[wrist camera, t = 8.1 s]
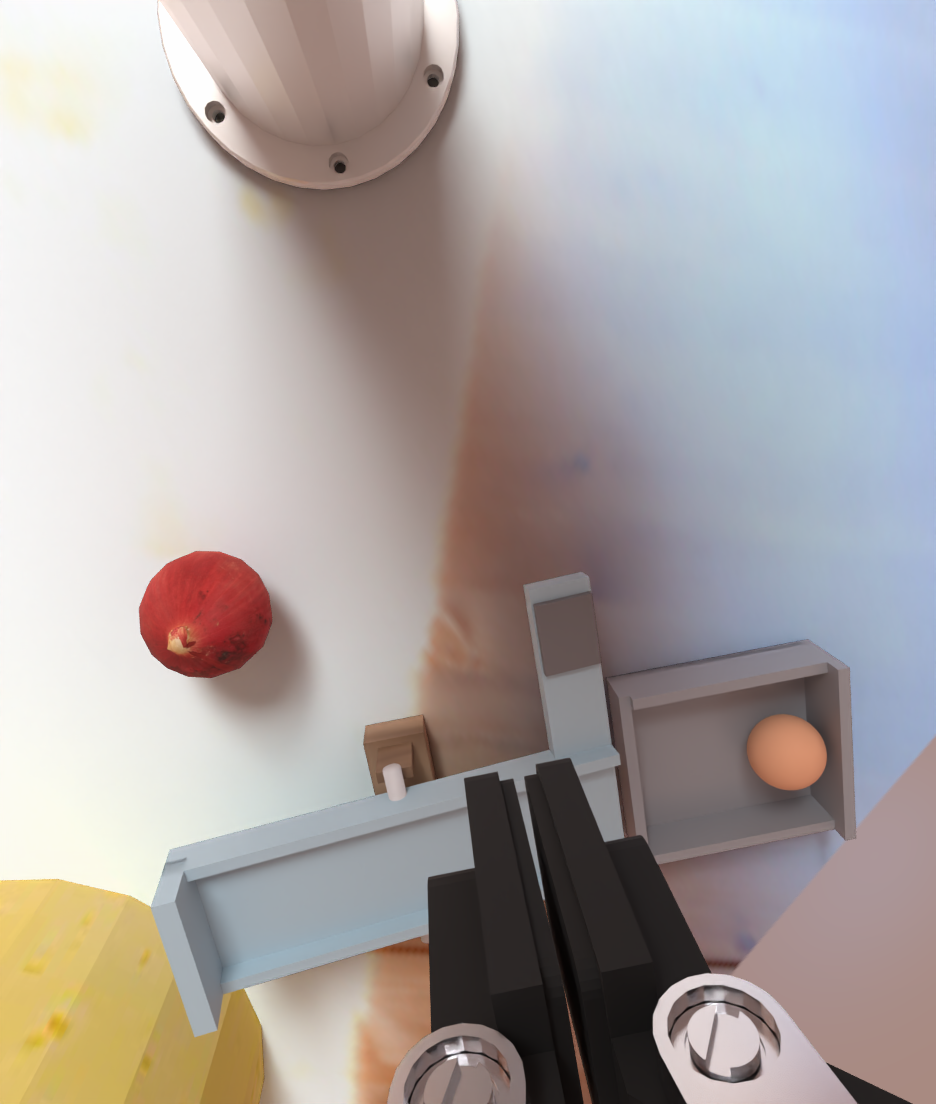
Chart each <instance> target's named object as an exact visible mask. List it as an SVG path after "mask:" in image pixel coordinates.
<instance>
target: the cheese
mask: <svg viewBox="0 0 936 1104" xmlns="http://www.w3.org/2000/svg"><path fill="white" fill-rule="evenodd" d="M263 1082H264V1065H263V1046H262V1028H261V1024H260V1022H259V1020H258V1018H257V1015H256V1013H255V1011H254V1009H253V1007H252V1005H251V1003H250V1001H249V998H248V996H247V994H246V992H245V990H244V988H243V989H240V990H237V991H233V992H230V993H226V994H223V999H222V1005H221V1011H220V1017H219V1023H218V1029H217V1031H214V1032H210V1033H207V1034H204V1035H200V1036H197V1037H194V1034H193V1031H192V1028H191V1025H190V1022H189V1019H188V1016H187V1013H186V1010H185V1008H184V1005H183V1002H182V999H181V996H180V993H179V990H178V987H177V984H176V981H175V978H174V975H173V972H172V969H171V966H170V964H169V961H168V958H167V955H166V952H165V949H164V946H163V943H162V940H161V937H160V934H159V931H158V928H157V925H156V922H155V920H154V917H153V914H152V911H151V907H150V906H148V905H146V904H144V903H142V902H141V901H139V900H137V899H135V898H133V897H131V896H128V895H124V894H119V893H115V892H111V891H107V890H102V889H98V888H94V887H89V886H85V885H81V884H77V883H72V882H68V881H64V880H59V879H42V880H5V881H0V1104H259V1101H260V1096H261V1091H262V1087H263Z"/></svg>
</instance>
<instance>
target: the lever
mask: <svg viewBox="0 0 936 1104" xmlns="http://www.w3.org/2000/svg"><path fill="white" fill-rule="evenodd" d="M523 587H524V593H525V600H526V606H527V612H528V618H529V625H530V631H531V637H532V644H533V650H534V656H535V662H536V669H537V675H538V681H539V687H540V694H541V700H542V706H543V712H544V719H545V725H546V731H547V738H548V744H549V750H547V751H543V752H539V753H535V754H531V755H528V756H524V757H520V758H516V759H512V760H509V761H505V762H501V763H497V764H493V765H490V766H486V767H482V768H478V769H474V770H471V771H467V772H463V773H459V774H455V775H452V776H448V777H444V778H440V779H436V780H433V781H429V782H425V783H421V784H417V785H414V786H410V787H406V788H405V783H404V779H403V774H402V770H401V766H400V765H399V764H396V763H394V764H389V765H387V766H385V767H384V768H383V775H384V780H385V784H386V788H387V793H383V794H379V795H376V796H372V797H368V798H364V799H360V800H357V801H353V802H349V803H345V804H341V805H338V806H334V807H330V808H326V809H322V810H319V811H315V812H311V813H307V814H303V815H300V816H296V817H292V818H288V819H284V820H281V821H277V822H273V823H269V824H265V825H262V826H258V827H254V828H250V829H246V830H243V831H239V832H235V833H231V834H227V835H224V836H220V837H216V838H212V839H208V840H205V841H201V842H197V843H193V844H190V845H186V846H182V847H178V848H174V849H171V850H170V851H169V854H168V857H167V860H166V863H165V866H164V869H163V872H162V875H161V878H160V881H159V884H158V887H157V890H156V893H155V896H154V899H153V902H152V905H151V911H152V914H153V917H154V920H155V922H156V925H157V928H158V931H159V934H160V937H161V940H162V943H163V946H164V949H165V952H166V955H167V958H168V961H169V964H170V966H171V969H172V972H173V975H174V978H175V981H176V984H177V987H178V990H179V993H180V996H181V999H182V1002H183V1005H184V1008H185V1010H186V1013H187V1016H188V1019H189V1022H190V1025H191V1028H192V1031H193V1034H194V1037H197V1036H200V1035H204V1034H207V1033H210V1032H214V1031H217V1029H218V1023H219V1017H220V1011H221V1005H222V999H223V994H226V993H230V992H233V991H237V990H240V989H243V988H247V987H250V986H254V985H257V984H260V983H264V982H267V981H271V980H274V979H277V978H281V977H284V976H288V975H291V974H294V973H298V972H301V971H304V970H308V969H311V968H315V967H318V966H321V965H325V964H328V963H332V962H335V961H338V960H342V959H345V958H349V957H352V956H355V955H359V954H362V953H366V952H369V951H372V950H376V949H379V948H383V947H386V946H389V945H393V944H396V943H400V942H403V941H406V940H410V939H413V938H417V937H421V941H422V942H423V943H427V944H428V943H429V927H428V891H427V884H428V877H431V876H436V875H441V874H446V873H451V872H456V871H461V870H466V869H471V868H475V866H474V858H473V850H472V842H471V833H470V825H469V817H468V809H467V801H466V793H465V785H464V778H467V777H472V776H477V775H482V774H487V773H492V772H498V775H499V779H500V781H502V780H507V779H512V778H513V779H514V783H515V787H516V791H517V795H518V800H519V804H520V808H521V812H522V816H523V820H524V824H525V828H526V832H527V836H528V841H529V845H530V849H531V853H532V857H533V861H534V865H535V869H536V873H537V877H538V881H539V886H540V890H541V894H542V898H543V900H545V897H544V891H543V886H542V880H541V874H540V868H539V862H538V857H537V851H536V845H535V839H534V833H533V827H532V822H531V816H530V810H529V804H528V798H527V792H526V787H525V780H524V776H528V775H533V774H536V764H539V763H544V762H549V761H554V760H559V759H564V758H570V759H571V761H572V763H573V765H574V768H575V770H576V773H577V775H578V778H579V780H580V783H581V785H582V788H583V790H584V793H585V795H586V798H587V800H588V803H589V805H590V807H591V810H592V812H593V815H594V817H595V820H596V822H597V825H598V827H599V830H600V832H601V835H602V837H603V840H604V842H607V841H612V840H617V839H622V838H624V833H623V825H622V818H621V810H620V803H619V795H618V788H617V781H616V773H615V766H618V765H621V763H620V755H619V753H618V752H617V751H616V749H615V748H614V747H613V746H612V743H611V736H610V728H609V721H608V714H607V706H606V699H605V691H604V684H603V676H602V669H601V657H600V650H599V642H598V635H597V627H596V620H595V612H594V605H593V597H592V593H591V587H590V580H589V576H587V575H586V574H584V573H583V572H578V573H574V574H569V575H565V576H561V577H556V578H552V579H547V580H543V581H539V582H534V583H530V584H525V585H523Z"/></svg>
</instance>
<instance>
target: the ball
mask: <svg viewBox="0 0 936 1104" xmlns="http://www.w3.org/2000/svg"><path fill="white" fill-rule="evenodd" d="M747 756H748V759H749V762H750V765H751V767H752V768H753V770H754V771H755V773H756V774H757V775H758V776H759V777H760V778H761V779H762V780H763V781H765V782H766V783H768V784H769V785H771V786H773V787H776V788H779V789H783V790H799V789H803V788H806V787H808V786H810V785H812V784H813V783H814V782H816V781H817V780H818V779H819V777H820V776H821V775H822V773H823V771H824V769H825V766H826V762H827V751H826V746H825V743H824V741H823V739H822V737H821V735H820V734H819V732H818V731H817V730H816V729H815V728H814V727H813V726H812V725H811V724H810V723H808V722H807V721H805V720H803V719H801V718H799V717H796V716H793V715H788V714H777V715H772V716H769V717H767V718H765V719H763V720H761V721H760V722H759V723H758V724H756V725H755V727H754V728H753V729H752V731H751V733H750V735H749V737H748V741H747Z"/></svg>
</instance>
